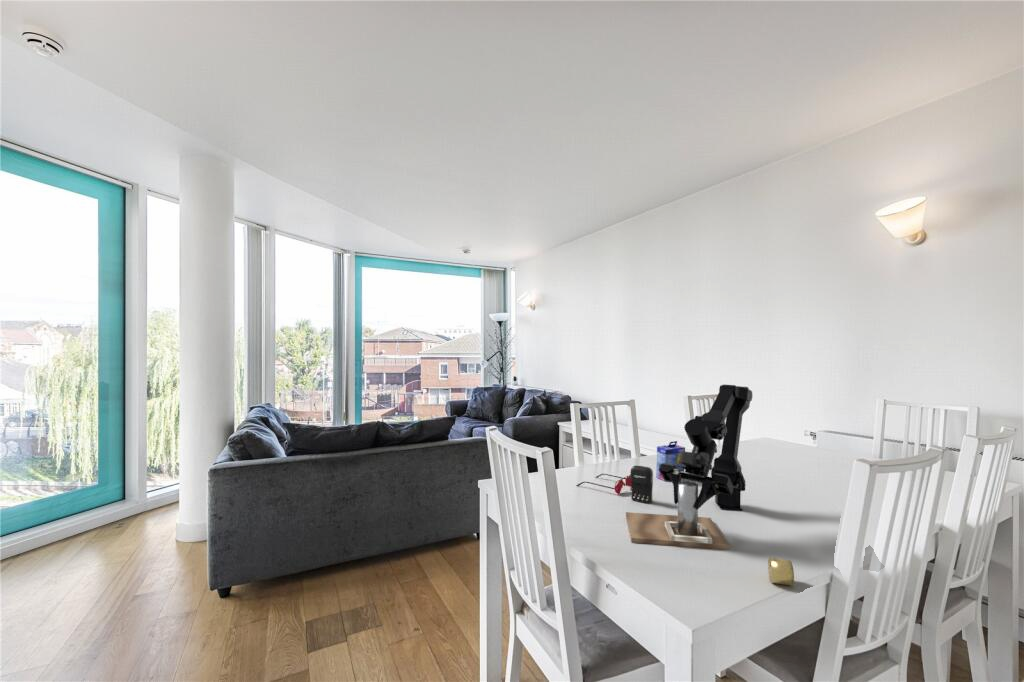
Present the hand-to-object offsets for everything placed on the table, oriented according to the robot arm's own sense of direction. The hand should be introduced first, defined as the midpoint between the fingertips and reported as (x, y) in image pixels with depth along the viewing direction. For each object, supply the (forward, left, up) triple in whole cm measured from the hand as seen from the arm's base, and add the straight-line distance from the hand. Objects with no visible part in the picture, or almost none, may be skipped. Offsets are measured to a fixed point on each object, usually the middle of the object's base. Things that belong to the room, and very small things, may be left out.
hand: (685, 505), depth 121 cm
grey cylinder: (-1, -1, -8) cm, 8 cm away
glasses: (+19, -42, -10) cm, 47 cm away
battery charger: (+8, -28, -9) cm, 31 cm away
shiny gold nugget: (-14, +18, -7) cm, 24 cm away
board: (+2, -5, -9) cm, 11 cm away
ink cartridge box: (-6, -56, -9) cm, 57 cm away
